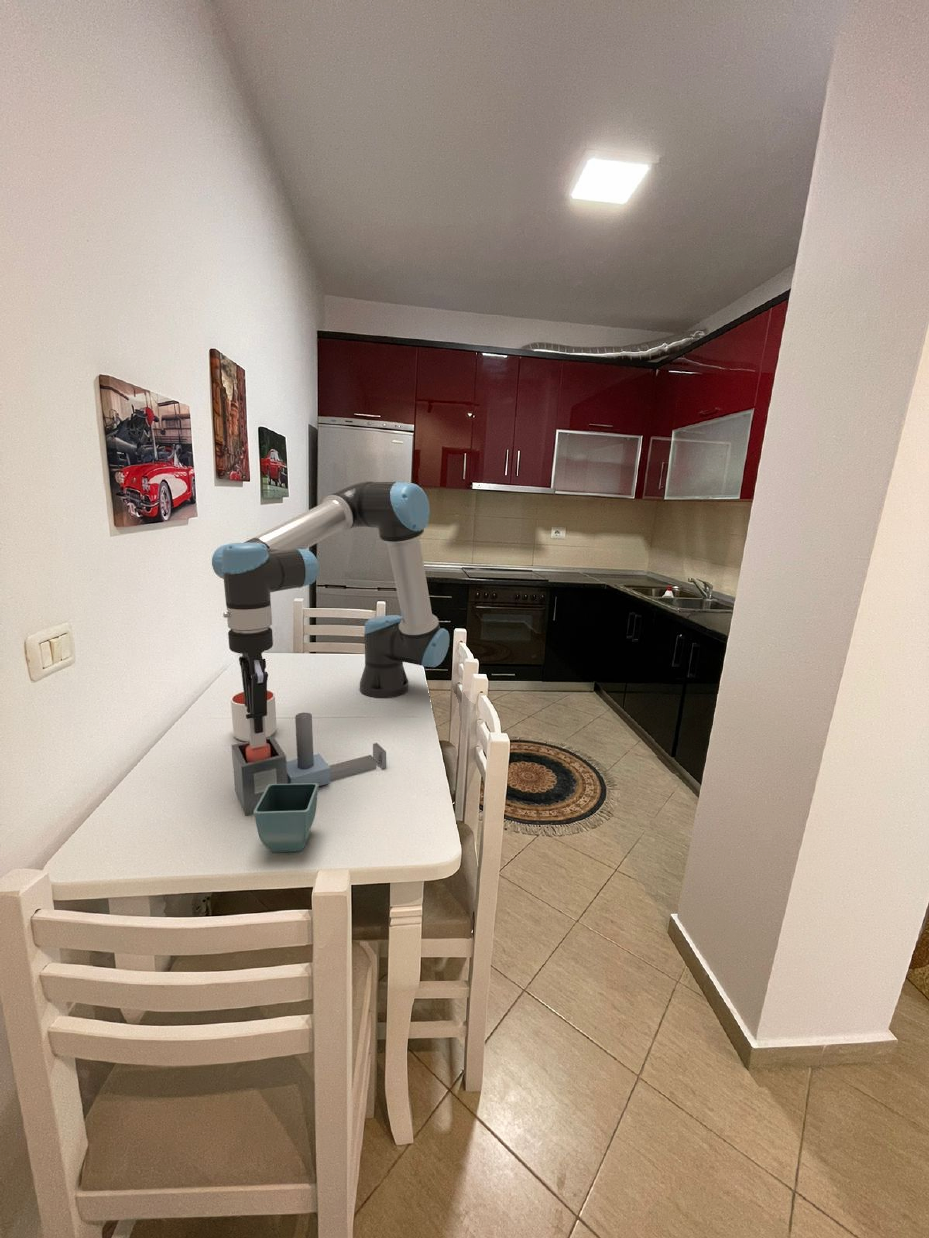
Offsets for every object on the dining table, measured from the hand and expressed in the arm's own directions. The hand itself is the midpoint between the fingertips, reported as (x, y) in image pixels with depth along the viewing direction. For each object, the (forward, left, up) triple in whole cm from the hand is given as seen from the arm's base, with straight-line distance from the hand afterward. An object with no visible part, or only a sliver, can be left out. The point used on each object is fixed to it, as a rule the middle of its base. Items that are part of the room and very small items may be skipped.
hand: (258, 745), depth 100 cm
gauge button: (0, 0, -5) cm, 5 cm away
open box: (0, 0, -11) cm, 11 cm away
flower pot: (-1, +17, -11) cm, 20 cm away
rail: (-14, 0, -11) cm, 18 cm away
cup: (-5, -29, -11) cm, 31 cm away
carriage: (-9, 0, -11) cm, 14 cm away
